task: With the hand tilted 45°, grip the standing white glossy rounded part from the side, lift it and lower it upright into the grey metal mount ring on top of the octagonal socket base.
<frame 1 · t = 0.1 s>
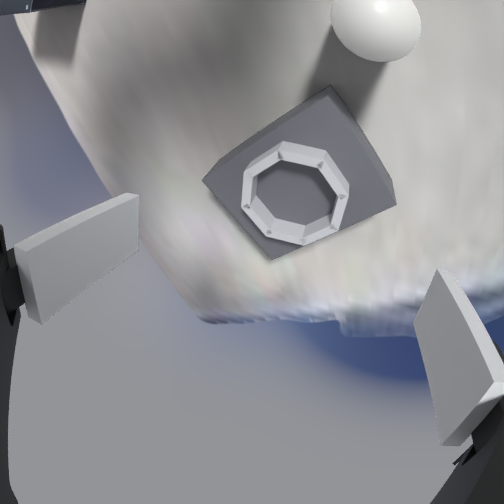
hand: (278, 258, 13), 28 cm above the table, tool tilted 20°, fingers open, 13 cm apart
octagonal socket base: (303, 167, 40), on the table
white glossy rounded part: (368, 22, 25), on the table
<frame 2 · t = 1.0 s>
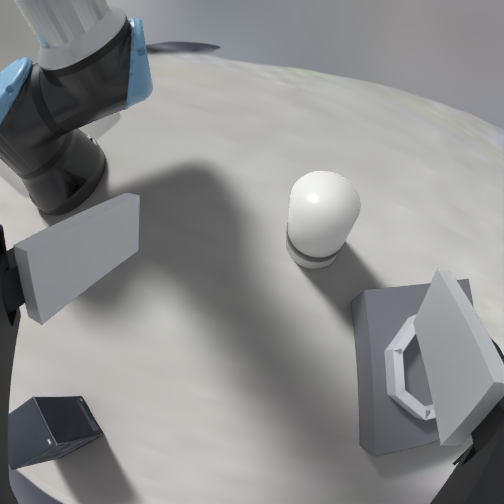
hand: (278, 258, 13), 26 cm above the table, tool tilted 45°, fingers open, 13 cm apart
octagonal socket base: (409, 366, 34), on the table
small box: (69, 427, 34), on the table
white glossy rounded part: (313, 242, 41), on the table
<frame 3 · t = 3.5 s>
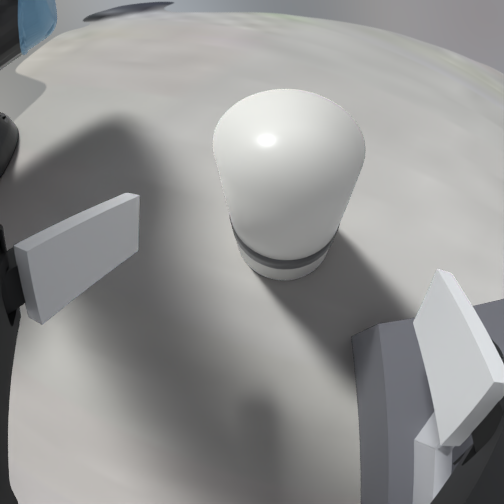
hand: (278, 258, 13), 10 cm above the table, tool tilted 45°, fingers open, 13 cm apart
octagonal socket base: (445, 434, 18), on the table
white glossy rounded part: (283, 235, 24), on the table
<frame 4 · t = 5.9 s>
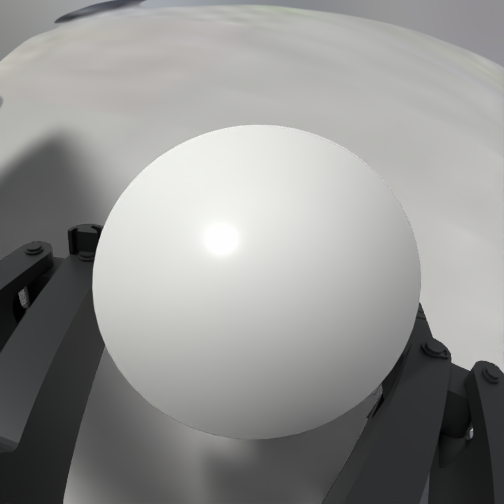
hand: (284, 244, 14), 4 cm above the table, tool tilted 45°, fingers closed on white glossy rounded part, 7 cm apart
white glossy rounded part: (265, 330, 17), on the table, touching gripper
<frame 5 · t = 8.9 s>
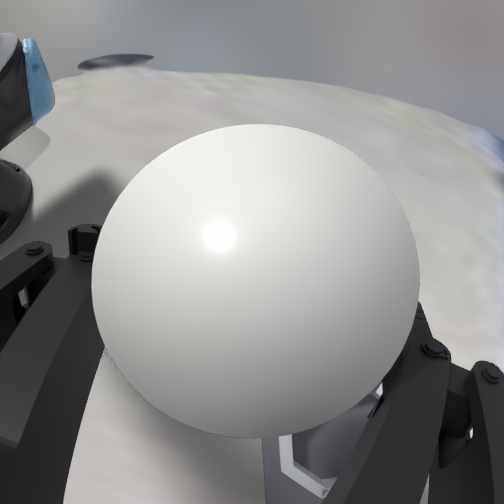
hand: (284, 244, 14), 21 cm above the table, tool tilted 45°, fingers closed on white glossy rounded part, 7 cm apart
octagonal socket base: (328, 422, 30), on the table
white glossy rounded part: (264, 330, 17), point 18 cm above the table, touching gripper
when the fingers open (11 cm above the table, at t = 12.0 s): white glossy rounded part drops 1 cm, resting on octagonal socket base.
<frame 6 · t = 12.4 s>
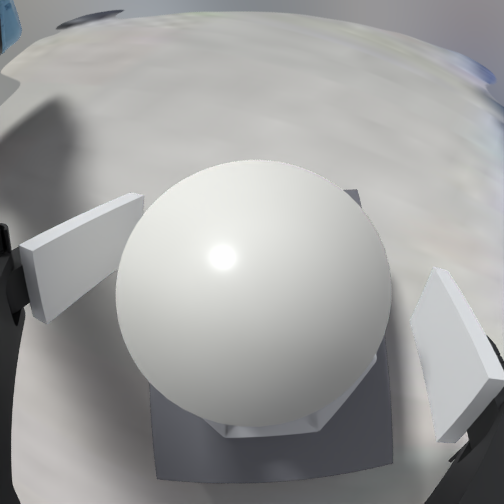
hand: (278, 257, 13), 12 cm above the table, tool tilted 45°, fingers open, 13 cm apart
octagonal socket base: (267, 343, 23), on the table
white glossy rounded part: (263, 333, 18), point 6 cm above the table, touching octagonal socket base
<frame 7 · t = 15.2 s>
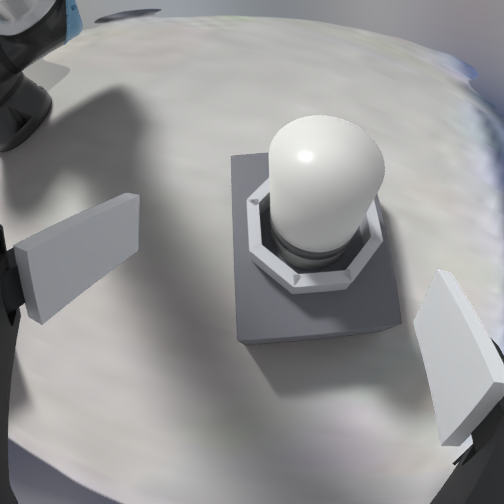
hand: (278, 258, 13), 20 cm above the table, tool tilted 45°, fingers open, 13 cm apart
octagonal socket base: (306, 254, 34), on the table
white glossy rounded part: (310, 231, 28), point 6 cm above the table, touching octagonal socket base
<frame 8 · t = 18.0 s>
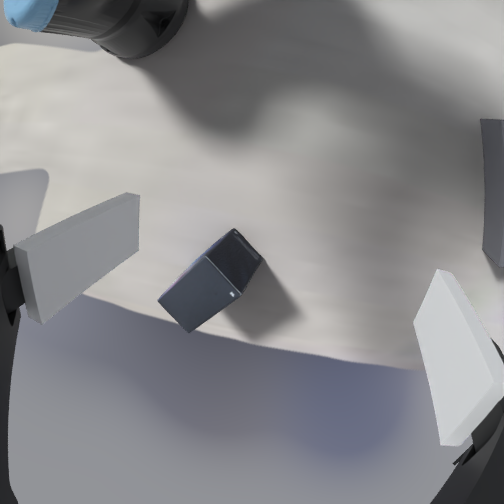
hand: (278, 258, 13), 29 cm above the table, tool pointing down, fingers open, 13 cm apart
small box: (224, 262, 47), on the table
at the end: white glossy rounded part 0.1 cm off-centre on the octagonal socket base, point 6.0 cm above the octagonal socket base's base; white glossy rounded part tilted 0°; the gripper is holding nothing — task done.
